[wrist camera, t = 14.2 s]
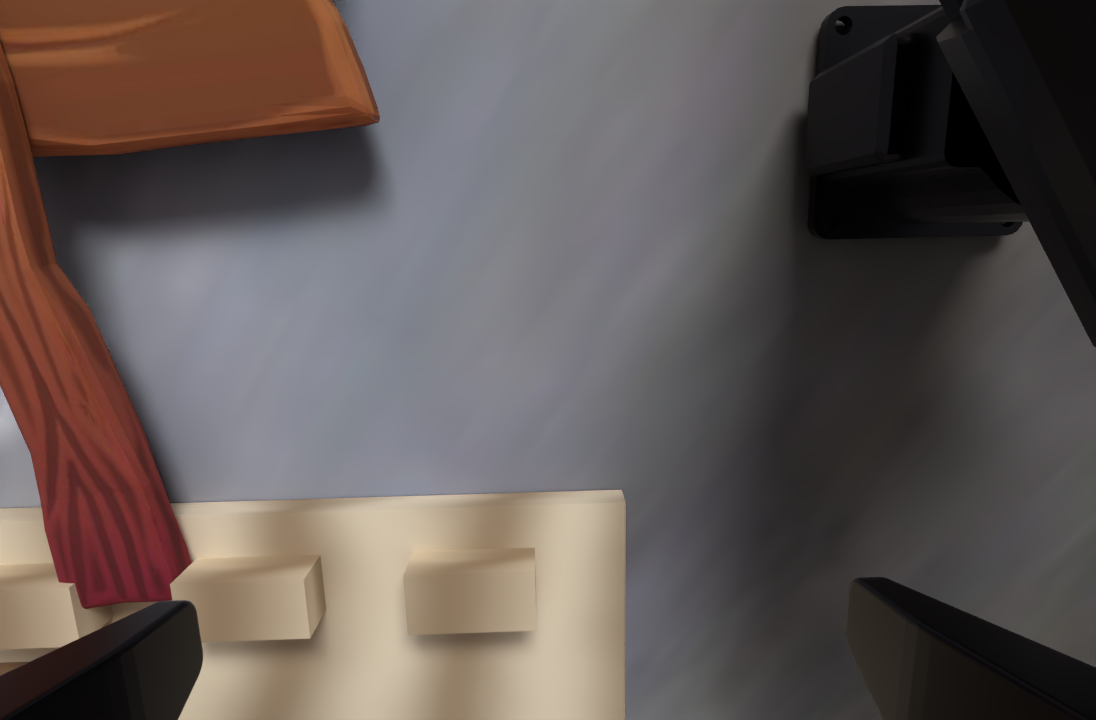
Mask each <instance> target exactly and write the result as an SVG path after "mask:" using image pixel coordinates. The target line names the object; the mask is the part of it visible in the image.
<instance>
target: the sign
mask: <svg viewBox="0 0 1096 720" xmlns="http://www.w3.org/2000/svg"><path fill="white" fill-rule="evenodd" d="M379 117H380V115H379V111H378V107H377V105H376V102H375V99H374V96H373V93H372V90H371V87H370V84H369V81H368V78H367V75H366V72H365V70H364V67H363V64H362V62H361V60H360V58H359V56H358V53H357V51H356V48H355V46H354V43H353V41H352V38H351V36H350V33H349V30H348V28H347V26H346V24H345V22H344V20H343V18H342V17H341V15H340V13H339V11H338V9H337V8H336V6H335V4H334V3H333V1H332V0H0V386H1V388H2V390H3V393H4V395H5V397H6V399H7V402H8V404H9V406H10V408H11V411H12V413H13V415H14V417H15V420H16V422H17V424H18V426H19V429H20V431H21V433H22V435H23V438H24V440H25V442H26V444H27V447H28V449H29V451H30V453H31V457H32V462H33V467H34V471H35V476H36V481H37V486H38V490H39V495H40V500H41V507H42V514H43V521H44V528H45V533H46V537H47V540H48V544H49V548H50V551H51V555H52V559H53V562H54V566H55V570H56V573H57V577H58V581H59V582H61V583H70V584H71V583H75V587H76V590H77V593H78V597H79V600H80V603H81V606H82V607H83V608H85V609H89V608H95V607H102V606H108V605H114V604H120V603H134V602H160V601H170V600H172V594H171V588H170V584H171V583H172V582H173V581H174V580H175V579H176V578H177V577H178V576H179V575H180V574H181V573H182V572H183V571H184V570H185V569H186V568H187V567H188V566H189V565H190V564H191V559H190V555H189V552H188V548H187V545H186V543H185V540H184V538H183V535H182V533H181V530H180V527H179V525H178V522H177V520H176V517H175V515H174V512H173V510H172V507H171V504H170V502H169V499H168V497H167V494H166V491H165V488H164V486H163V483H162V480H161V477H160V475H159V472H158V469H157V466H156V463H155V461H154V458H153V455H152V452H151V449H150V446H149V444H148V441H147V438H146V435H145V432H144V430H143V427H142V425H141V423H140V420H139V418H138V416H137V414H136V411H135V409H134V407H133V405H132V402H131V400H130V398H129V396H128V393H127V391H126V389H125V387H124V384H123V382H122V380H121V378H120V375H119V373H118V371H117V369H116V366H115V364H114V362H113V360H112V357H111V355H110V353H109V351H108V349H107V346H106V344H105V342H104V340H103V337H102V335H101V333H100V331H99V328H98V326H97V324H96V322H95V319H94V317H93V315H92V313H91V310H90V309H89V307H88V306H87V304H86V303H85V302H84V300H83V299H82V297H81V296H80V294H79V293H78V292H77V290H76V289H75V287H74V286H73V285H72V283H71V282H70V280H69V279H68V277H67V276H66V275H65V273H64V272H63V270H62V269H61V268H60V266H59V265H58V263H57V260H56V256H55V251H54V247H53V242H52V238H51V233H50V228H49V224H48V219H47V215H46V211H45V207H44V203H43V199H42V195H41V190H40V186H39V182H38V178H37V174H36V170H35V166H34V161H33V157H45V156H72V155H115V154H125V153H132V152H140V151H148V150H155V149H163V148H170V147H178V146H185V145H193V144H202V143H211V142H220V141H228V140H237V139H246V138H255V137H263V136H272V135H281V134H290V133H300V132H310V131H320V130H330V129H339V128H349V127H359V126H367V125H370V124H374V123H377V122H379Z"/></svg>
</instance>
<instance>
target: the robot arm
mask: <svg viewBox="0 0 1096 720" xmlns="http://www.w3.org/2000/svg"><path fill="white" fill-rule="evenodd" d="M939 1H940V3H941V5H905V6H845V7H840V8H838V9H836V10H835V11H833V12H832V13H831V14H829V15H828V16H827V17H826V18H825V19H824V21H823V22H822V24H821V28H820V39H819V55H818V71H817V76H816V77H815V78H814V79H813V80H812V81H811V82H810V86H809V102H808V118H807V134H806V151H805V169H806V171H807V172H808V173H809V174H810V175H811V181H810V197H809V213H808V228H809V231H810V232H811V234H812V235H813V236H815V237H816V238H819V239H863V238H907V237H952V236H997V235H1009V234H1013V233H1014V232H1016V231H1017V230H1018V229H1019V228H1020V226H1021V225H1022V223H1023V222H1026V221H1030V223H1031V225H1032V227H1033V229H1034V231H1035V233H1036V235H1037V237H1038V239H1039V241H1040V243H1041V245H1042V247H1043V249H1044V251H1045V253H1046V255H1047V256H1048V258H1049V260H1050V262H1051V264H1052V266H1053V268H1054V270H1055V272H1056V274H1057V276H1058V278H1059V280H1060V282H1061V284H1062V286H1063V288H1064V290H1065V292H1066V294H1067V296H1068V297H1069V299H1070V301H1071V303H1072V305H1073V307H1074V309H1075V311H1076V313H1077V315H1078V317H1079V319H1080V321H1081V323H1082V325H1083V327H1084V329H1085V331H1086V333H1087V335H1088V337H1089V338H1090V340H1091V342H1092V344H1093V346H1095V347H1096V0H939ZM837 20H838V21H842V22H843V23H844V25H845V28H846V31H845V34H844V35H840V34H838V33H837V32H836V30H835V23H836V21H837ZM826 215H829V216H830V217H831V220H832V224H831V227H830V228H829V229H828V230H825V229H824V228H823V227H822V219H823V218H824V217H825V216H826ZM1000 222H1005V223H1004V224H1003V225H1001V224H1000ZM846 641H847V645H848V648H849V651H850V653H851V655H852V657H853V659H854V661H855V663H856V665H857V667H858V669H859V672H860V674H861V676H862V678H863V680H864V682H865V684H866V686H867V688H868V690H869V692H870V694H871V696H872V698H873V700H874V703H875V705H876V707H877V709H878V711H879V713H880V715H881V717H882V719H883V720H1096V667H1093V666H1091V665H1089V664H1086V663H1084V662H1082V661H1079V660H1077V659H1075V658H1072V657H1070V656H1068V655H1065V654H1063V653H1061V652H1058V651H1056V650H1054V649H1051V648H1049V647H1047V646H1044V645H1042V644H1039V643H1037V642H1035V641H1032V640H1030V639H1028V638H1025V637H1023V636H1021V635H1018V634H1016V633H1014V632H1011V631H1009V630H1007V629H1004V628H1002V627H1000V626H997V625H995V624H993V623H990V622H988V621H986V620H983V619H981V618H978V617H976V616H974V615H971V614H969V613H967V612H964V611H962V610H960V609H957V608H955V607H953V606H950V605H948V604H946V603H943V602H941V601H939V600H936V599H934V598H932V597H929V596H927V595H924V594H922V593H920V592H917V591H915V590H913V589H910V588H908V587H906V586H903V585H901V584H899V583H896V582H894V581H892V580H889V579H887V578H883V577H867V578H856V579H854V580H853V581H852V582H851V584H850V588H849V595H848V607H847V618H846ZM202 663H203V649H202V642H201V636H200V629H199V622H198V616H197V611H196V607H195V606H194V604H193V603H192V602H190V601H188V600H175V601H160V602H157V603H154V604H152V605H150V606H148V607H146V608H143V609H141V610H139V611H137V612H135V613H133V614H131V615H128V616H126V617H124V618H122V619H120V620H118V621H116V622H113V623H111V624H109V625H107V626H105V627H103V628H101V629H98V630H96V631H94V632H92V633H90V634H88V635H86V636H83V637H81V638H79V639H77V640H75V641H73V642H71V643H68V644H66V645H64V646H62V647H60V648H58V649H56V650H53V651H51V652H49V653H47V654H45V655H43V656H41V657H38V658H36V659H34V660H32V661H30V662H28V663H26V664H23V665H21V666H19V667H17V668H15V669H13V670H11V671H8V672H6V673H4V674H2V675H0V720H178V719H179V717H180V715H181V713H182V711H183V708H184V706H185V704H186V702H187V700H188V698H189V696H190V694H191V691H192V689H193V687H194V685H195V683H196V681H197V679H198V677H199V674H200V671H201V668H202Z"/></svg>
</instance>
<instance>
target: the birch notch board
mask: <svg viewBox="0 0 1096 720" xmlns="http://www.w3.org/2000/svg"><path fill="white" fill-rule="evenodd" d="M170 504H171V507H172V510H173V512H174V515H175V517H176V520H177V522H178V525H179V527H180V530H181V533H182V535H183V538H184V540H185V543H186V545H187V548H188V552H189V555H190V559H191V564H190V565H189V566H188V567H187V568H186V569H185V570H184V571H183V572H182V573H181V574H180V575H179V576H178V577H177V578H176V579H175V580H174V581H173V582H172V583H171V584H170V588H171V594H172V600H170V601H175V600H188V601H190V602H192V603H193V604H194V606H195V607H196V611H197V616H198V622H199V629H200V636H201V642H202V649H203V663H202V668H201V671H200V674H199V677H198V679H197V681H196V683H195V685H194V687H193V689H192V691H191V694H190V696H189V698H188V700H187V702H186V704H185V706H184V708H183V711H182V713H181V715H180V717H179V719H178V720H625V573H626V501H625V498H624V496H623V493H622V490H596V491H563V492H530V493H497V494H464V495H431V496H399V497H366V498H333V499H300V500H267V501H234V502H201V503H170ZM154 603H157V602H134V603H120V604H114V605H108V606H102V607H95V608H89V609H85V608H83V607H82V606H81V603H80V600H79V597H78V593H77V590H76V587H75V583H71V584H70V583H61V582H59V581H58V577H57V573H56V570H55V566H54V562H53V559H52V555H51V551H50V548H49V544H48V540H47V537H46V533H45V528H44V521H43V514H42V507H37V508H4V509H0V663H4V662H30V661H32V660H34V659H36V658H38V657H41V656H43V655H45V654H47V653H49V652H51V651H53V650H56V649H58V648H60V647H62V646H64V645H66V644H68V643H71V642H73V641H75V640H77V639H79V638H81V637H83V636H86V635H88V634H90V633H92V632H94V631H96V630H98V629H101V628H103V627H105V626H107V625H109V624H111V623H113V622H116V621H118V620H120V619H122V618H124V617H126V616H128V615H131V614H133V613H135V612H137V611H139V610H141V609H143V608H146V607H148V606H150V605H152V604H154Z"/></svg>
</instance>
